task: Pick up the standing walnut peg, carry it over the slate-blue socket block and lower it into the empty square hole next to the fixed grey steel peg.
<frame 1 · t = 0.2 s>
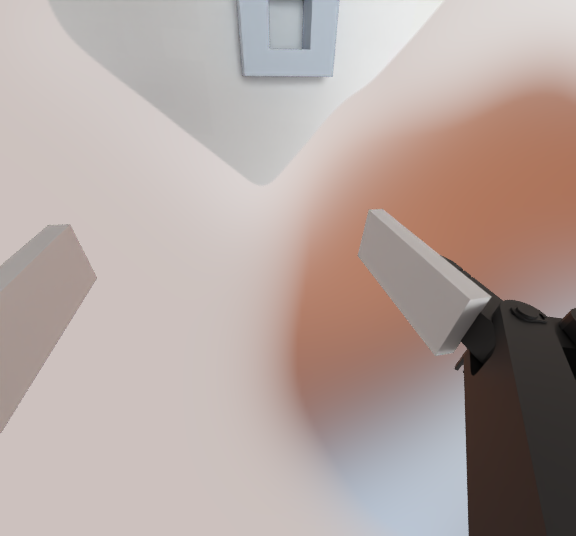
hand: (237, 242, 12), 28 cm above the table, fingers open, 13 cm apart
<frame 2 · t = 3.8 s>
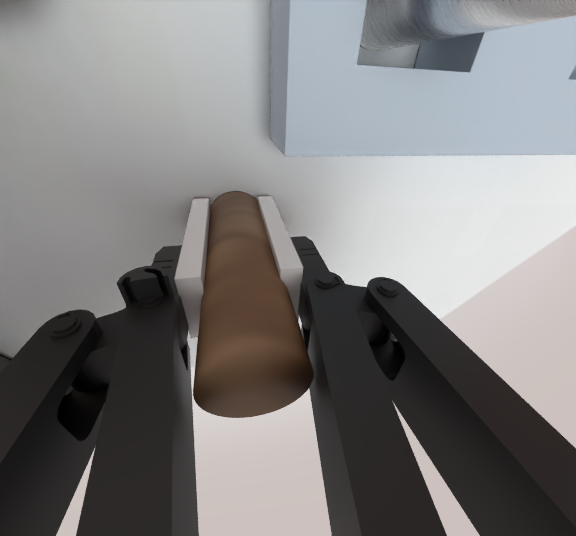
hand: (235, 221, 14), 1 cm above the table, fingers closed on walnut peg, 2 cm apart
walnut peg: (236, 217, 14), on the table, touching gripper
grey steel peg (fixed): (382, 2, 10), resting in socket block
socket block: (476, 13, 11), on the table
when the fingers open (5 cm above the table, at t = 7.8 s): walnut peg drops 2 cm, resting in socket block.
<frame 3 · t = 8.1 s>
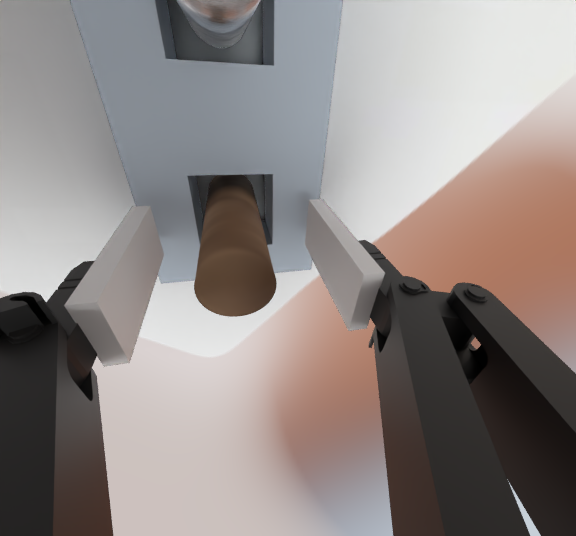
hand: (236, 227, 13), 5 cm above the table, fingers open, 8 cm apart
walnut peg: (231, 193, 17), resting in socket block
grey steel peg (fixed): (216, 6, 12), resting in socket block
socket block: (226, 116, 15), on the table
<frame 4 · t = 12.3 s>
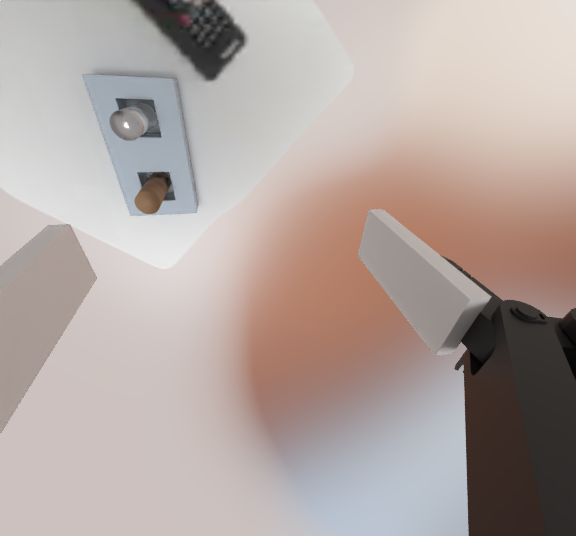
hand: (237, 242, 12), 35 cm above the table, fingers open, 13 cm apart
walnut peg: (161, 180, 42), resting in socket block
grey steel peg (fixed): (145, 115, 36), resting in socket block
socket block: (154, 150, 39), on the table
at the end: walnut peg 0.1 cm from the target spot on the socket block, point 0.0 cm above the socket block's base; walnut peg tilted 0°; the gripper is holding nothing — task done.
